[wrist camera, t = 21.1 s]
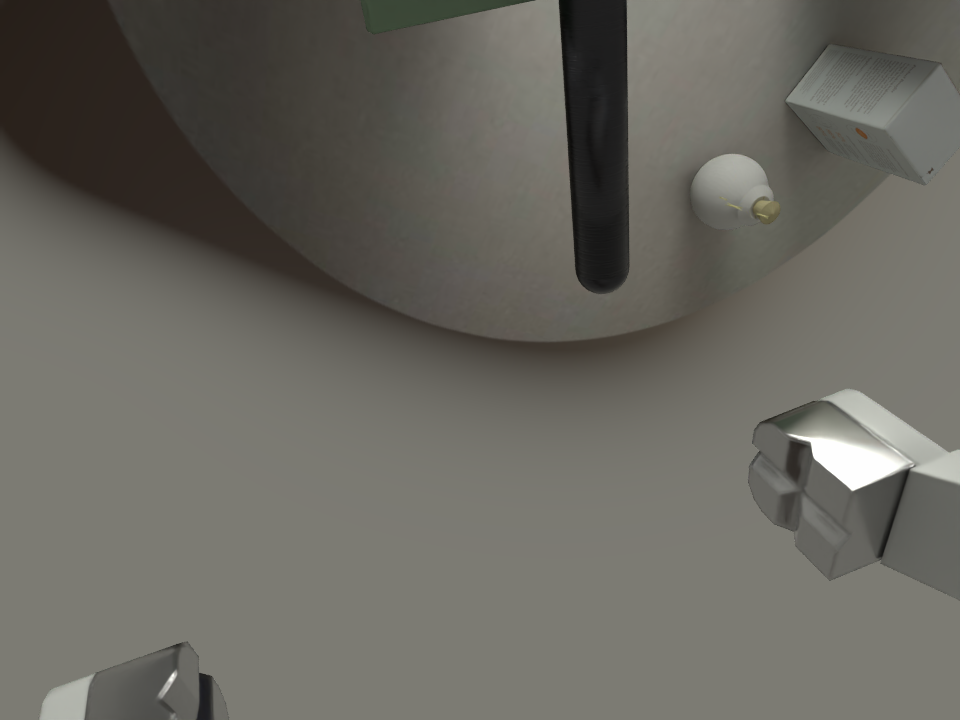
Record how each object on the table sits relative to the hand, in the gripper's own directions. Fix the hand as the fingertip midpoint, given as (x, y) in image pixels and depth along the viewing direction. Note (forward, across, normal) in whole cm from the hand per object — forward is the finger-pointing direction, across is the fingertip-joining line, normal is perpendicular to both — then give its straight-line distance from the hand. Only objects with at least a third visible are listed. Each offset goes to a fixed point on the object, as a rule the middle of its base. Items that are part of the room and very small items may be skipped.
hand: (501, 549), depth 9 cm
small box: (+41, -45, +12) cm, 62 cm away
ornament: (+41, -32, +16) cm, 55 cm away
